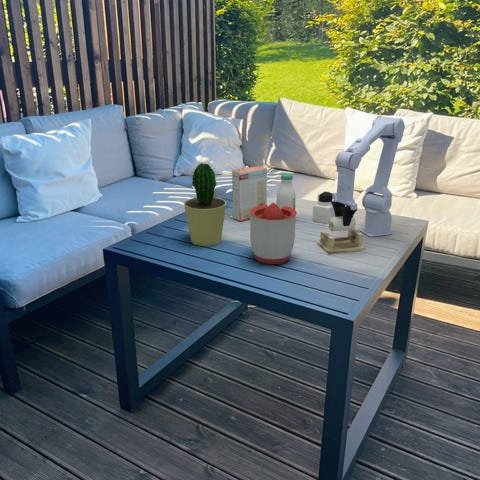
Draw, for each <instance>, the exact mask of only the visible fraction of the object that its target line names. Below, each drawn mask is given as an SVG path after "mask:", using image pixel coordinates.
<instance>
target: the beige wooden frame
mask: <svg viewBox="0 0 480 480" xmlns="http://www.w3.org/2000/svg"><path fill="white" fill-rule="evenodd" d="M347 231H348V234H347V236H340V237H333V236H332V235H331V234H329V233H328V232H327V231H326V230H321V231H320V236H319V238H320V239H319V240H318V241H317V242H316V245H318V246H319V247H320V248H321V249H322V250H323V251H324V252H326V253H327V254H328V255H335V254H336V255H337V254H343V253H345V254H346V253H351V252H359V251H365V250H366V247H365V246H364V245H363V242H364V233H362V232H361V231H358V230H357V229H355V228H354V229H350V230H347Z"/></svg>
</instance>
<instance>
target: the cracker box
mask: <svg viewBox="0 0 480 480" xmlns="http://www.w3.org/2000/svg"><path fill="white" fill-rule="evenodd" d="M231 181H232V183H231V185H232V188H231V189H232V191H231V192H232V218H233V219H234V220H236V221H238V222H245V221H250V210H251V209H252V208H254V207H256V206H261V205H267V206H268V203H267V201H268V193H267V192H268V188H267V187H268V168H266V167H265V166H262V165H256V166H250V167H249V166H248V167H245V168H239V169H233V170H231Z"/></svg>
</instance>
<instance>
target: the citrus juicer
mask: <svg viewBox="0 0 480 480" xmlns="http://www.w3.org/2000/svg"><path fill="white" fill-rule="evenodd" d="M297 212H298V211H296V209H295V210H294V209H293V208H291V207H288V206H283V207H282V208H281V209H280V208H279V207H278V206H277V205H276V202H272V203H270V204H269V205H268V204H267V205H261V206H256V207H254V208H252V209H251V210H250V219H249V221H250V222H249V224H250V227H249V228H250V230H249V234H250V235H249V236H250V237H249V239H250V246H251V249H252V254H253V256H254V257H255V259H256V261H258V262H259V263H263V264H266V265H267V264H269V265H277V264H280V265H281V264H283V263H285V262H287V261H288V260H289V258H290V256H291V255H292V251H293V248H294V244H295V239H296V238H295V237H296V215H297V214H298V213H297Z"/></svg>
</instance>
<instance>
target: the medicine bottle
mask: <svg viewBox="0 0 480 480" xmlns="http://www.w3.org/2000/svg"><path fill="white" fill-rule="evenodd" d="M332 193H333V192H330V191H319V192H318V193H317V201H316V203H314V204H313V206H312V222H316V223H318V224H319V223H320V224H325V225H329V219H330V218H331V217H335V212H334V209H333V206H332V204H331V202H332V201H333V198H332Z"/></svg>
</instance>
